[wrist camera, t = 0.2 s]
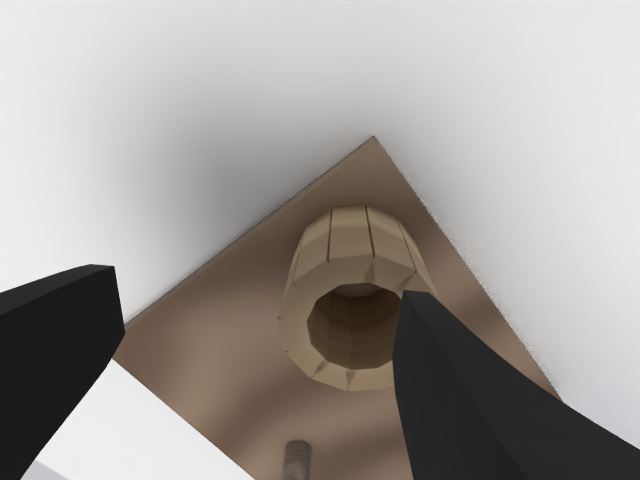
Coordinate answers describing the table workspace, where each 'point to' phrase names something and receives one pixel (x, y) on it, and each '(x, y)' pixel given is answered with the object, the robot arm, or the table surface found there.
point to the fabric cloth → (267, 348)
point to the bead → (343, 312)
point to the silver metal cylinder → (296, 461)
